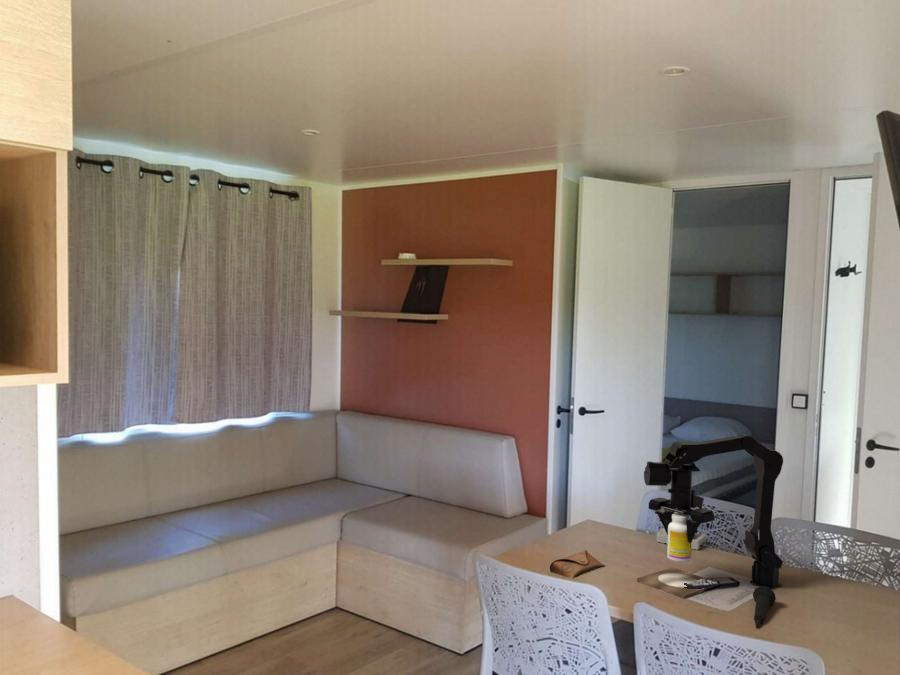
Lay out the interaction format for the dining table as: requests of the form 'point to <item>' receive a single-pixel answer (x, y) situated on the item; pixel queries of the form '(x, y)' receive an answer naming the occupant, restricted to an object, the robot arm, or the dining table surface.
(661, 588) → the brown flat square board
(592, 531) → the dining table surface
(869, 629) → the dining table surface
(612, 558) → the dining table surface
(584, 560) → the sunglasses case
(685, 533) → the supplement bottle
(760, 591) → the microphone
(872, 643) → the dining table surface
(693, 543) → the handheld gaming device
